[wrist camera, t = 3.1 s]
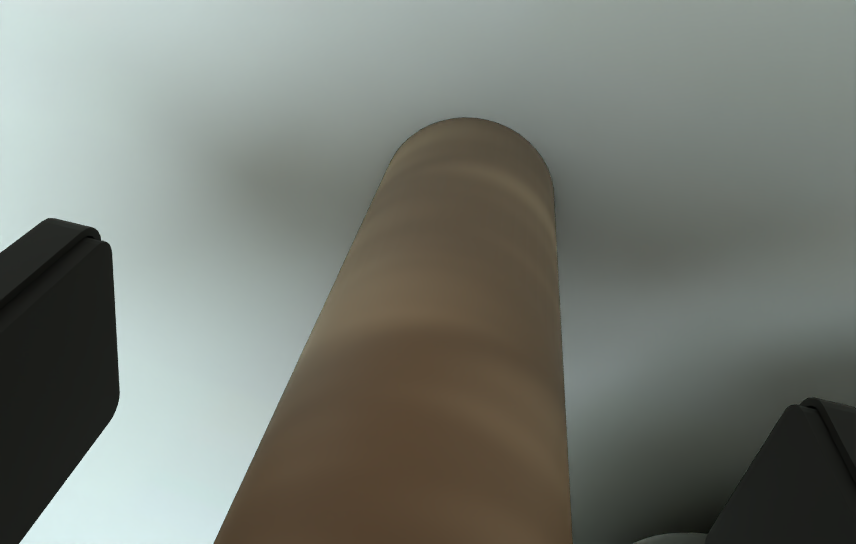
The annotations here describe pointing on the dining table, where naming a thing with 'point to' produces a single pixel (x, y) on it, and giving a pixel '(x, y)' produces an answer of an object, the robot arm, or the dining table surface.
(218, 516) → the dining table surface
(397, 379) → the brown wooden dowel
